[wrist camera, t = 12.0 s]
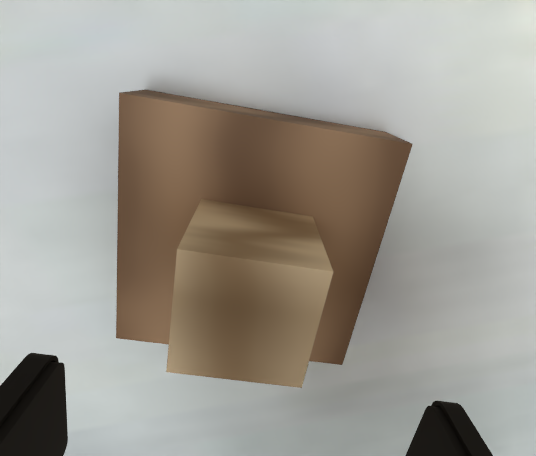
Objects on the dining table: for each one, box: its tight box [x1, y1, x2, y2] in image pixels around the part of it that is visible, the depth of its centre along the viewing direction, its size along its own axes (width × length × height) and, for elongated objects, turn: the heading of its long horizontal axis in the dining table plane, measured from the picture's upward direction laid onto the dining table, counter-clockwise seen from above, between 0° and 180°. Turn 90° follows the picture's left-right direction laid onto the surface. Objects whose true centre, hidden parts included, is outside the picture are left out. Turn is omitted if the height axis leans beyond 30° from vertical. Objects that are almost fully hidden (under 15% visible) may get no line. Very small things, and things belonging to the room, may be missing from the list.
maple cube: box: [166, 199, 333, 388], centre depth 15 cm, size 5×5×5 cm
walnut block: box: [116, 90, 412, 365], centre depth 19 cm, size 12×12×4 cm
